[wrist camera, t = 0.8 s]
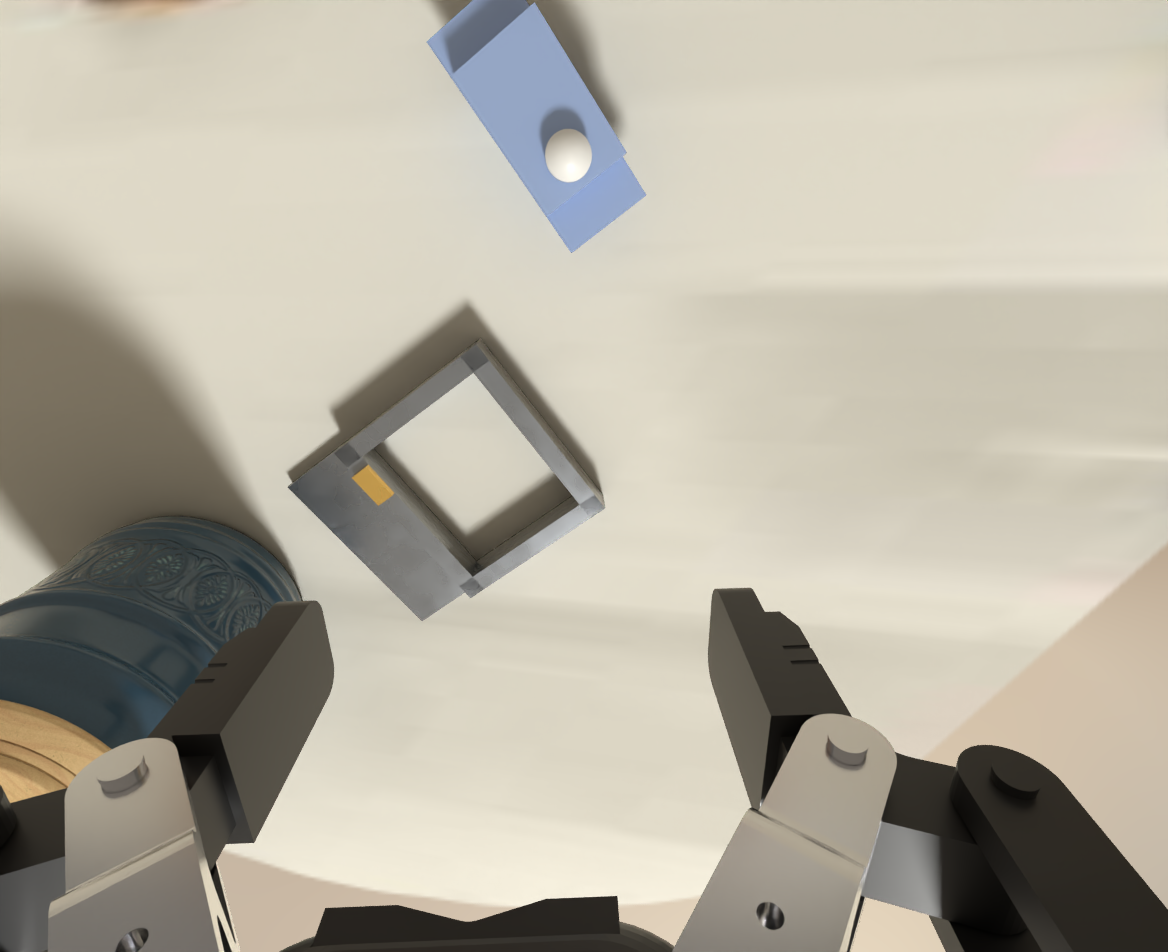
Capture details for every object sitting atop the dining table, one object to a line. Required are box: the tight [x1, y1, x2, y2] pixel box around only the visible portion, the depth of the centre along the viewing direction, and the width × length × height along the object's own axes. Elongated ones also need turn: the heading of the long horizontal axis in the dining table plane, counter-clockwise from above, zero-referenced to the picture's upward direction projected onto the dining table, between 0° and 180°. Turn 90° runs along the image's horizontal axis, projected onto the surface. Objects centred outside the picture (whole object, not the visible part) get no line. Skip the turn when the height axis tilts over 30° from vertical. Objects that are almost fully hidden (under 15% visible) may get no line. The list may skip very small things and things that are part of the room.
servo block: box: [427, 0, 646, 253], centre depth 26 cm, size 4×10×6 cm, turn 36°
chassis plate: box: [288, 338, 605, 621], centre depth 33 cm, size 14×11×2 cm
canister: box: [0, 516, 302, 803], centre depth 29 cm, size 13×13×18 cm
